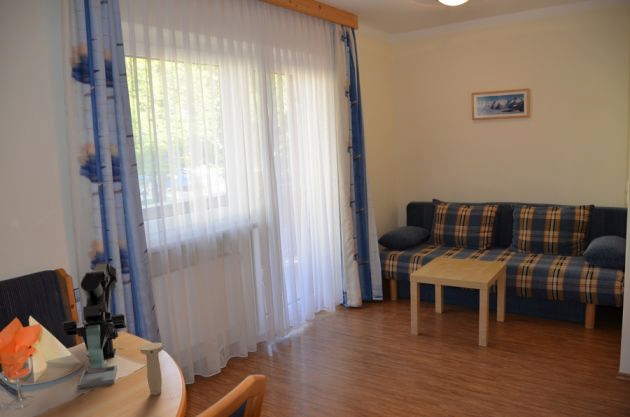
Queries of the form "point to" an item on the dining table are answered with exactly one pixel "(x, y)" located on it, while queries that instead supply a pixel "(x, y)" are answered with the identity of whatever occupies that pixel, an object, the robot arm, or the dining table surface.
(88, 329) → the teal green tall block
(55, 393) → the dining table surface
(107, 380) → the tray
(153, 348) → the handle
